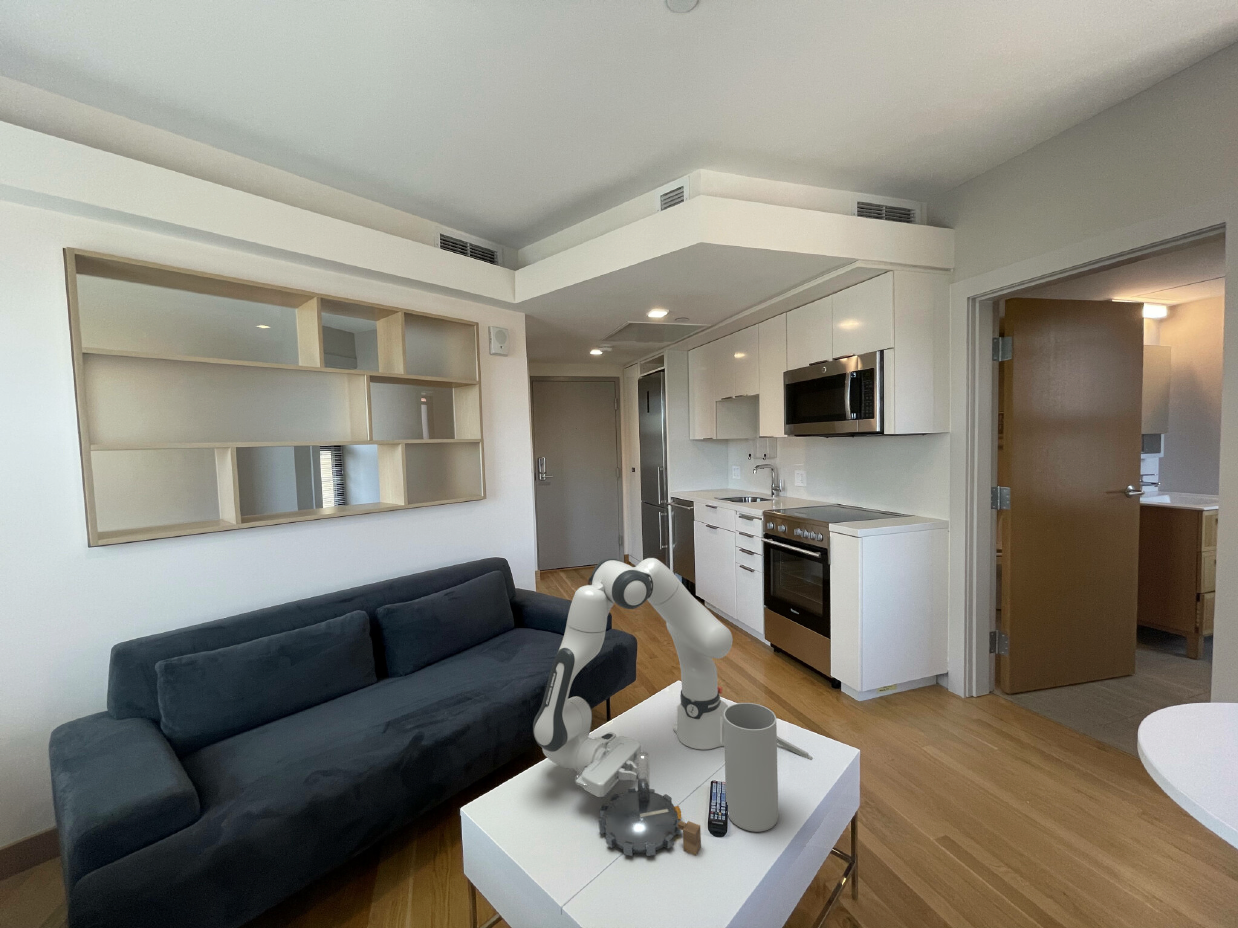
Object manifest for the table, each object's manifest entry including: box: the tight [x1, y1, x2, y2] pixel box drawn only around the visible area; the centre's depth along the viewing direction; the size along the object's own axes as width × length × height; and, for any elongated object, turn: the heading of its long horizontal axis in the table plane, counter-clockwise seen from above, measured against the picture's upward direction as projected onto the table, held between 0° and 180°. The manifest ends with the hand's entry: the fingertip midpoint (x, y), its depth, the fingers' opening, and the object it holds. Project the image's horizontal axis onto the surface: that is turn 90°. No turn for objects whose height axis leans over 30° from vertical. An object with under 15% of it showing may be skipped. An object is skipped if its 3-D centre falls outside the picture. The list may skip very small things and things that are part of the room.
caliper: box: [777, 736, 813, 761], centre depth 155 cm, size 20×1×6 cm, turn 51°
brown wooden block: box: [678, 820, 702, 856], centre depth 118 cm, size 3×5×5 cm, turn 58°
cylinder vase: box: [723, 702, 779, 833], centre depth 127 cm, size 12×12×25 cm
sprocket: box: [598, 751, 683, 857], centre depth 125 cm, size 20×20×13 cm
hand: (639, 774), depth 132 cm, fingers closed, pressing on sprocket
